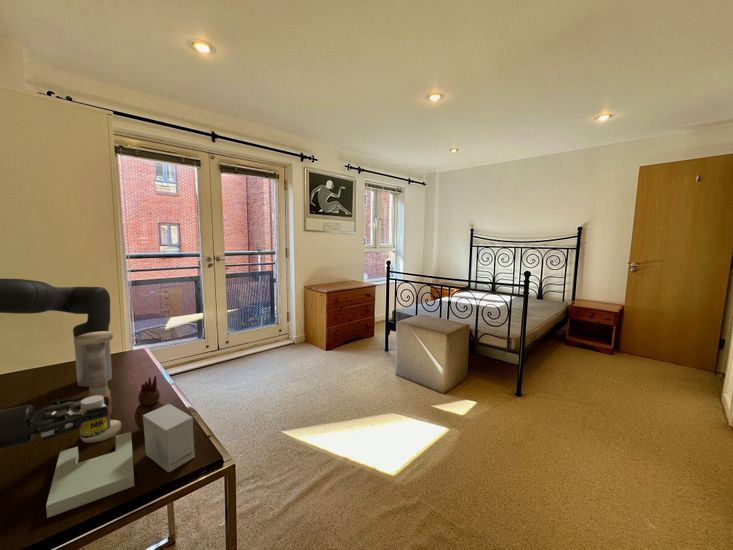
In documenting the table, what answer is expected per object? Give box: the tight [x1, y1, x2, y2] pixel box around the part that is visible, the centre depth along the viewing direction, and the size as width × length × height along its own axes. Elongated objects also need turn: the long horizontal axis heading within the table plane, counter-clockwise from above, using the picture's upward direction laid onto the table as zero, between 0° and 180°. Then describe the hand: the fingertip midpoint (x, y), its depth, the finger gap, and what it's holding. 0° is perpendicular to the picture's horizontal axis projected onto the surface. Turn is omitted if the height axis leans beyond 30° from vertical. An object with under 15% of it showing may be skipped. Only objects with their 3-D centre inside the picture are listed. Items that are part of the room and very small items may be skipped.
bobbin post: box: [76, 330, 122, 444], centre depth 82 cm, size 8×8×26 cm
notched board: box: [45, 431, 135, 519], centre depth 69 cm, size 18×13×2 cm
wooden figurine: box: [134, 375, 165, 433], centre depth 85 cm, size 7×6×15 cm
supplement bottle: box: [79, 395, 107, 440], centre depth 72 cm, size 5×5×8 cm
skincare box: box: [143, 403, 196, 473], centre depth 75 cm, size 10×6×10 cm, turn 58°
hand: (107, 405), depth 74 cm, fingers closed on supplement bottle, 4 cm apart
